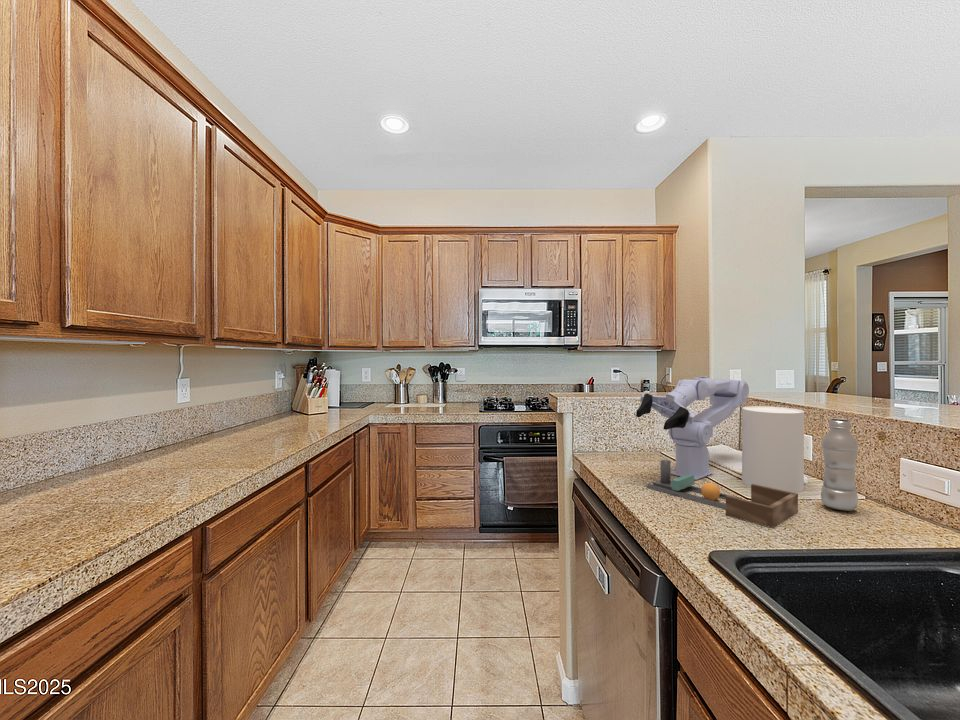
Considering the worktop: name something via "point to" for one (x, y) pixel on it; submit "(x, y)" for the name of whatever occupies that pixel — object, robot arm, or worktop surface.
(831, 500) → the plastic bottle
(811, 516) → the worktop surface
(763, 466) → the canister
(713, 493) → the ball
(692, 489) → the guide rails
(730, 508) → the box
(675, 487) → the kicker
